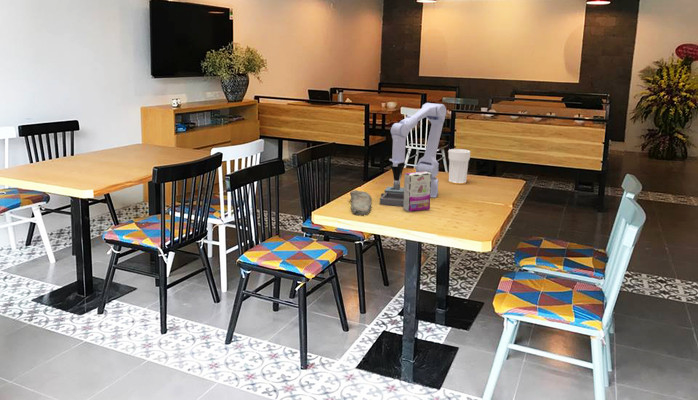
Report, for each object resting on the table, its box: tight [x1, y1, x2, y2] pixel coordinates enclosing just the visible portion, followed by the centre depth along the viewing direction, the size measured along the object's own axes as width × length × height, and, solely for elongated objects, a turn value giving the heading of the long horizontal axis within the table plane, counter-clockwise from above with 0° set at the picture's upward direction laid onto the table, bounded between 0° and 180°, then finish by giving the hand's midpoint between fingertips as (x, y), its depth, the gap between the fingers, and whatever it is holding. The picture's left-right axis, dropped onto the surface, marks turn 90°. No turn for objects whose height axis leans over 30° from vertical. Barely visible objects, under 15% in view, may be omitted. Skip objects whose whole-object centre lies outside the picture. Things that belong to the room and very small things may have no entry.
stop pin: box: [392, 174, 402, 190], centre depth 271 cm, size 3×3×9 cm
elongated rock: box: [349, 189, 373, 217], centre depth 265 cm, size 35×5×10 cm
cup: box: [447, 148, 471, 186], centre depth 317 cm, size 11×11×17 cm
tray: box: [379, 192, 404, 208], centre depth 272 cm, size 13×13×3 cm
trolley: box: [380, 186, 404, 198], centre depth 284 cm, size 14×9×7 cm
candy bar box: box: [402, 171, 431, 213], centre depth 259 cm, size 11×5×16 cm, turn 117°
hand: (397, 179), depth 271 cm, fingers closed on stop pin, 3 cm apart
